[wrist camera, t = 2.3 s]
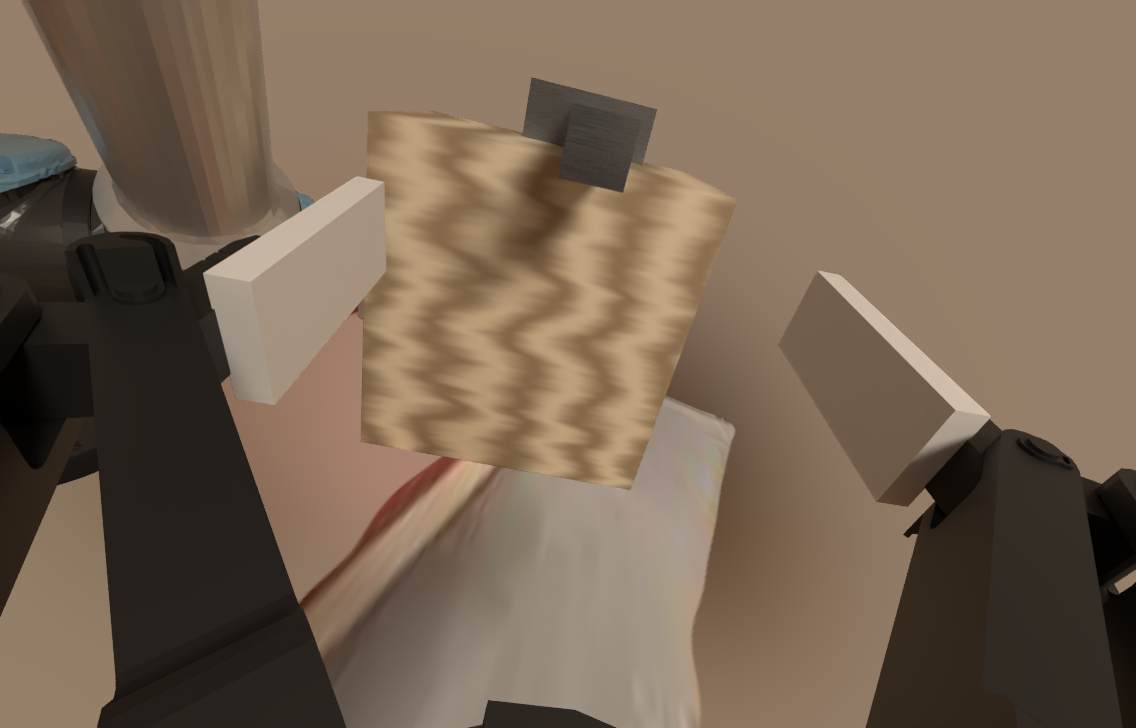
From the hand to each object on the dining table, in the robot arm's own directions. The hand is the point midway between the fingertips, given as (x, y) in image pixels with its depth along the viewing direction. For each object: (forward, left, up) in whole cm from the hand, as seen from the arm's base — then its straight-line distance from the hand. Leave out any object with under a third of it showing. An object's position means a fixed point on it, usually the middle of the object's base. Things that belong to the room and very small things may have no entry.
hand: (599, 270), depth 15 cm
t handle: (0, +26, +1) cm, 26 cm away
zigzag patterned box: (-2, +33, -29) cm, 44 cm away
